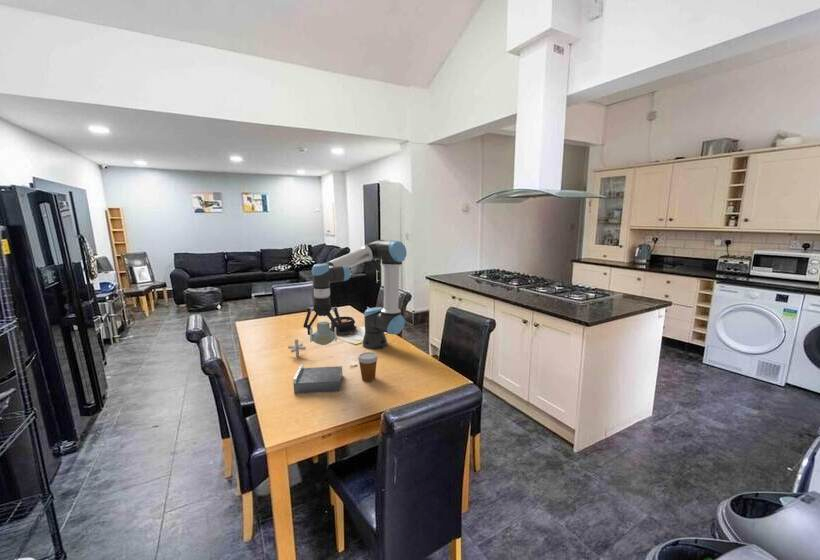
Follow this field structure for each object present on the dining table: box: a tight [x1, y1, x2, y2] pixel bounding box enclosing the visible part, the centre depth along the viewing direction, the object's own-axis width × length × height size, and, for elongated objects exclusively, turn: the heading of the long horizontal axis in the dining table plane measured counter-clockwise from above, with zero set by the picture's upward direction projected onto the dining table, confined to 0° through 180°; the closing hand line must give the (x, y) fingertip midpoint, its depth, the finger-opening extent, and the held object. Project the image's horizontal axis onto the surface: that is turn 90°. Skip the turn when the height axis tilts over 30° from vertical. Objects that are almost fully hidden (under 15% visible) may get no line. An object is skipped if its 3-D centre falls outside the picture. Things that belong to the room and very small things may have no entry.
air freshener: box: [312, 321, 335, 346], centre depth 168 cm, size 11×8×10 cm
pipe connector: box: [287, 338, 307, 357], centre depth 198 cm, size 10×10×10 cm
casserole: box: [329, 316, 358, 335], centre depth 241 cm, size 25×19×8 cm
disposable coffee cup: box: [357, 352, 379, 383], centre depth 169 cm, size 10×10×12 cm
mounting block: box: [292, 363, 343, 395], centre depth 165 cm, size 20×16×7 cm
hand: (323, 340), depth 169 cm, fingers closed on air freshener, 11 cm apart
